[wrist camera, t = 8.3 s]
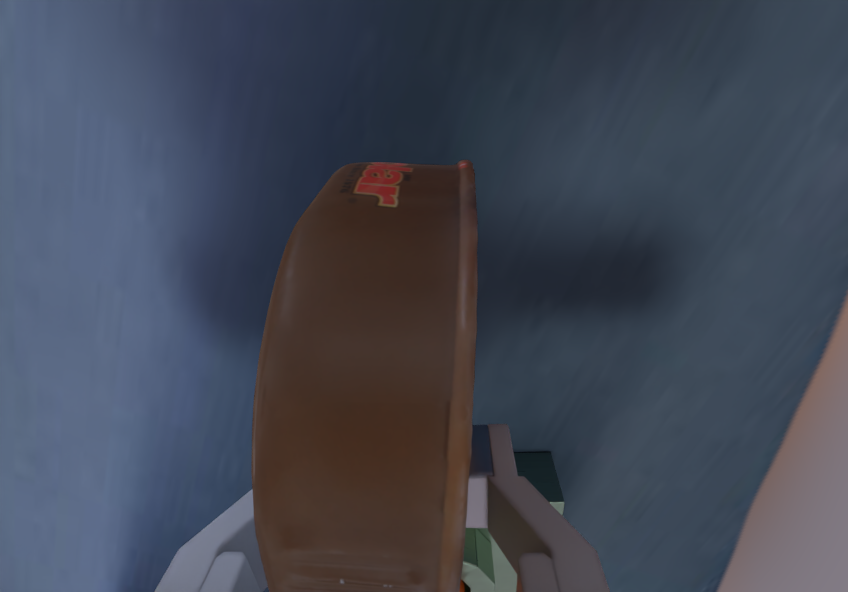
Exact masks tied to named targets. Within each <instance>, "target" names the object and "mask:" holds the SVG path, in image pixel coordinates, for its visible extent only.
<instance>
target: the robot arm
mask: <svg viewBox="0 0 848 592" xmlns="http://www.w3.org/2000/svg"><path fill="white" fill-rule="evenodd" d="M472 429H473V431H472V440H471V449H472V454H471V462H470V469H469V483H468V502H467V518H466V528H488V531H489V533H490V534H491V536H492V537H493V539H494V540H495V542H496V543H497V545H498V546H499V548H500V549H501V551H502V552H503V554H504V555H505V557H506V559H507V560H508V562H509V563H510V565H511V566H512V568H513V569H514V571H515V572H516V574H517V588H516V592H610V591H609V588H608V584H607V581H606V578H605V575H604V572H603V569H602V566H601V563H600V560H599V557H598V554H597V551H596V550H595V549H594V548H593V547H592V546H591V545H590V544H589V543H588V542H587V541H586V540H585V539H584V538H583V537H582V536H581V535H580V534H579V533H578V532H577V530H576V529H575V528H574V527H573V526H572V525H571V524H570V523H569V522H568V521H567V520H566V519H565V518H564V517H563V516H562V515H561V514H560V513H559V512H558V511H557V510H556V509H555V508H554V507H553V506H552V505H551V504H550V503H549V502H548V501H547V500H546V499H545V498H544V496H543V495H542V494H541V493H540V492H539V491H538V490H537V489H536V488H535V487H534V486H533V485H532V484H531V483H530V482H529V481H528V480H527V479H526V478H525V477H524V476H518V474H517V469H516V463H515V458H514V453H513V447H512V442H511V437H510V431H509V427H508V425H507V424H488V425H472ZM267 586H268V584H267V580H266V576H265V573H264V569H263V564H262V561H261V557H260V552H259V546H258V541H257V538H256V532H255V523H254V508H253V489H252V490H251V491H249V492H248V493H247V494H246V495H244V496H243V497H242V498H241V499H240V500H238V501H237V502H236V503H235V504H233V505H232V506H231V507H230V508H229V509H227V510H226V511H225V512H224V513H222V514H221V515H220V516H219V517H218V518H216V519H215V520H214V521H213V522H211V523H210V524H209V525H208V526H207V527H205V528H204V529H203V530H202V531H200V532H199V533H198V534H197V535H196V536H194V537H193V538H192V539H191V540H189V541H188V542H187V543H186V544H185V545H183V546H182V547H181V548H180V549H179V550H178V551H177V553H176V555H175V557H174V558H173V560H172V562H171V564H170V565H169V567H168V569H167V571H166V572H165V574H164V576H163V578H162V579H161V581H160V583H159V585H158V586H157V588H156V590H155V592H263V591H264V590H265V589H266V587H267Z"/></svg>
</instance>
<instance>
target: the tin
mask: <svg viewBox="0 0 848 592" xmlns="http://www.w3.org/2000/svg"><path fill="white" fill-rule="evenodd" d="M475 189H476V188H475V173H474V169H473V164H472V163H471V161H469V160H461V161H459V162H458V163H457V164H456V165H425V164H406V163H388V162H361V163H352V164H348V165H345V166H343V167H342V168H340V169H339V170H337V171H336V172H335V173H334V174H333V175H332V176H331V178H330V179H329V180H328V182H327V183H326V184H325V185H324V187H323V188H322V189H321V191H320V192H319V193H318V195H317V196H316V197H315V199H314V200H313V202H312V203H311V204H310V205H309V207H308V208H307V209H306V210H305V212H304V213H303V215H302V216H301V217H300V219H299V221H298V222H297V224H296V225H295V227H294V229H293V231H292V233H291V235H290V238H289V240H288V242H287V244H286V247H285V250H284V253H283V256H282V259H281V263H280V266H279V269H278V273H277V276H276V280H275V283H274V287H273V291H272V295H271V299H270V304H269V308H268V312H267V318H266V323H265V328H264V333H263V339H262V344H261V349H260V354H259V361H258V370H257V378H256V386H255V395H254V407H253V425H252V489H253V508H254V523H255V532H256V538H257V541H258V546H259V552H260V557H261V561H262V564H263V569H264V573H265V576H266V580H267V584H268V588H269V592H459V590H460V582H461V574H462V566H463V558H464V547H465V531H466V518H467V502H468V483H469V469H470V462H471V454H472V449H471V440H472V431H473V429H472V411H473V390H474V379H475V371H474V366H475V345H476V336H477V287H478V278H477V244H478V233H477V224H478V221H477V209H476V193H475Z"/></svg>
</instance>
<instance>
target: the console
mask: <svg viewBox="0 0 848 592" xmlns="http://www.w3.org/2000/svg"><path fill="white" fill-rule="evenodd" d="M514 458H515V463H516V469H517V474H518V476H524V477H525V478H526V479H527V480H528V481H529V482H530V483H531V484H532V485H533V486H534V487H535V488H536V489H537V490H538V491H539V492H540V493H541V494H542V495H543V496H544V498H545V499H546V500H547V501H548V502H549V503H550V504H551V505H552V506H553V507H554V508H555V509H556V510H557V511H558V512H559V513H560V514H561V515H562V516H563V510H564V499H563V495H562V491H561V488H560V484H559V481H558V477H557V474H556V470H555V467H554V463H553V459H552V456H551V453H550V452H544V453H514ZM461 579H462V580H463V582H464V585H465V592H516V588H517V574H516V572H515V571H514V569H513V568H512V566H511V565H510V563H509V562H508V560H507V559H506V557H505V555H504V554H503V552H502V551H501V549H500V548H499V546H498V545H497V543H496V542H495V540H494V539H493V537H492V536H491V534H490V533H489V531H488V528H466V531H465V547H464V558H463V566H462V574H461Z"/></svg>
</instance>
